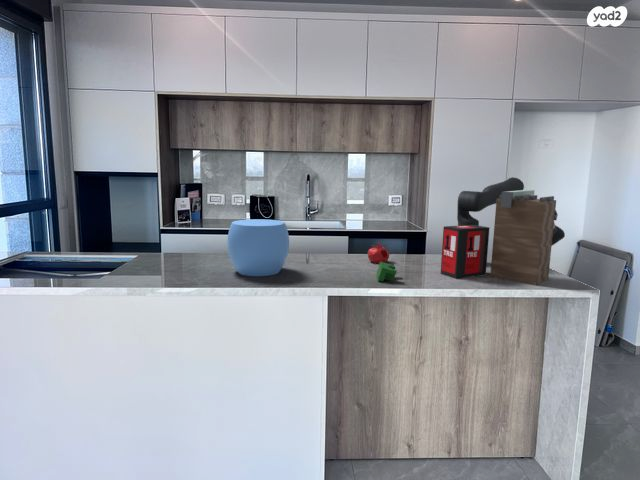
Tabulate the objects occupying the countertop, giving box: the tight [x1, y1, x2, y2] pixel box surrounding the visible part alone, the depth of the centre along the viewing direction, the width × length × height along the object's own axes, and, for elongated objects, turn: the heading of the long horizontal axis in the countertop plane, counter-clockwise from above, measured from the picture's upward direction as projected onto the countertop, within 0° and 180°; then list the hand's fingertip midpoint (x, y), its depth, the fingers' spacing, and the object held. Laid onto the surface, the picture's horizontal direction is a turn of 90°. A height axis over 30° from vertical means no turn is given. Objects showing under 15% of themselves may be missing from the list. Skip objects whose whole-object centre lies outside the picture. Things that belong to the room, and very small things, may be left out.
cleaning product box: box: [440, 225, 491, 280], centre depth 192 cm, size 16×9×20 cm, turn 117°
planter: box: [226, 218, 290, 277], centre depth 190 cm, size 25×25×20 cm
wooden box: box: [489, 194, 557, 286], centre depth 186 cm, size 14×18×34 cm
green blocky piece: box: [376, 262, 398, 283], centre depth 183 cm, size 12×6×9 cm, turn 170°
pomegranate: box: [367, 241, 390, 264], centre depth 213 cm, size 10×10×9 cm
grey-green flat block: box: [501, 189, 535, 208], centre depth 190 cm, size 26×4×6 cm, turn 137°
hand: (535, 206), depth 205 cm, fingers open, 8 cm apart
